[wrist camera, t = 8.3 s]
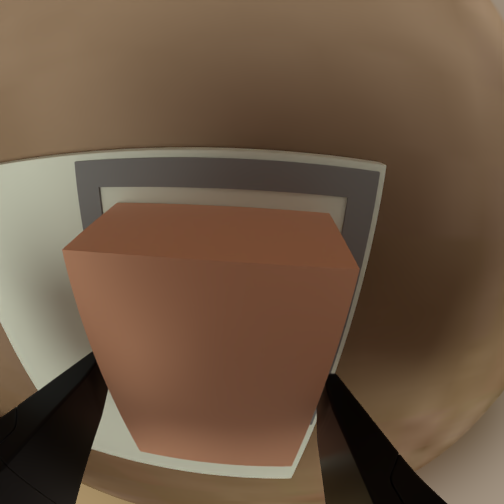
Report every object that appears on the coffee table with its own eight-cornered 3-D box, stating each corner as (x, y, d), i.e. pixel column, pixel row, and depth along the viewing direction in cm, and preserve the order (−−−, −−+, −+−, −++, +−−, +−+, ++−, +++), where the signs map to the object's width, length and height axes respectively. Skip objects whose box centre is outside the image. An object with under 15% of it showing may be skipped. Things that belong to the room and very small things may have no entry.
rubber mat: (290, 472, 17) (290, 479, 16) (78, 438, 17) (75, 444, 17) (380, 161, 8) (387, 166, 7) (-36, 170, 8) (-45, 174, 8)
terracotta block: (329, 213, 8) (359, 269, 6) (288, 408, 12) (291, 466, 10) (117, 202, 8) (62, 249, 6) (155, 396, 12) (139, 451, 10)
